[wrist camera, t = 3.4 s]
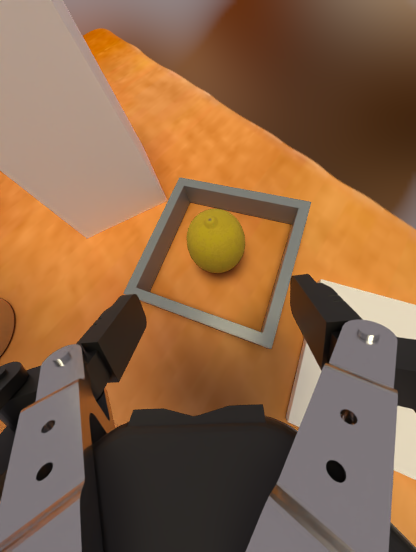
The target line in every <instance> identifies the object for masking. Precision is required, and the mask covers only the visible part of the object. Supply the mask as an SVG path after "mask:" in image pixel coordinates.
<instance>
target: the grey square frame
mask: <svg viewBox="0 0 416 552" xmlns="http://www.w3.org/2000/svg"><path fill="white" fill-rule="evenodd" d="M190 202H191V203H196V204H200V205H205V206H209V207H214V208H219V209H223V210H228V211H232V212H237V213H242V214H246V215H251V216H255V217H260V218H265V219H269V220H274V221H278V222H283V223H288V224H292V226H291V229H290V233H289V236H288V240H287V243H286V246H285V250H284V253H283V257H282V260H281V264H280V267H279V271H278V274H277V277H276V281H275V284H274V288H273V291H272V295H271V298H270V301H269V305H268V308H267V312H266V315H265V319H264V322H263V326H262V329H261V332H259V331H256V330H253V329H250V328H248V327H245V326H242V325H239V324H236V323H234V322H231V321H228V320H225V319H223V318H220V317H217V316H214V315H211V314H209V313H206V312H203V311H200V310H197V309H195V308H192V307H189V306H186V305H183V304H181V303H178V302H175V301H172V300H170V299H167V298H164V297H161V296H158V295H156V294H153V293H150V290H151V288H152V285H153V283H154V281H155V279H156V277H157V274H158V272H159V270H160V268H161V265H162V263H163V261H164V259H165V257H166V254H167V252H168V250H169V248H170V246H171V243H172V241H173V239H174V237H175V234H176V232H177V230H178V228H179V226H180V223H181V221H182V219H183V217H184V214H185V212H186V210H187V208H188V206H189V203H190ZM310 205H311V202H309V201H303V200H298V199H292V198H287V197H282V196H276V195H271V194H266V193H260V192H255V191H250V190H244V189H239V188H233V187H228V186H223V185H217V184H212V183H207V182H201V181H196V180H190V179H185V178H179V180H178V182H177V184H176V186H175V188H174V190H173V192H172V194H171V196H170V198H169V200H168V202H167V204H166V207H165V209H164V211H163V213H162V215H161V217H160V219H159V221H158V223H157V225H156V227H155V229H154V231H153V233H152V235H151V237H150V240H149V242H148V244H147V246H146V248H145V250H144V252H143V254H142V256H141V258H140V260H139V262H138V264H137V266H136V268H135V271H134V273H133V275H132V277H131V279H130V281H129V283H128V285H127V287H126V289H125V291H124V293H123V294H126V295H129V294H136V295H137V296H138V297H139V300H140V301H143V302H145V303H148V304H151V305H153V306H156V307H159V308H161V309H164V310H167V311H169V312H172V313H175V314H177V315H180V316H183V317H185V318H188V319H191V320H193V321H196V322H199V323H201V324H204V325H207V326H209V327H212V328H215V329H217V330H220V331H223V332H225V333H228V334H231V335H233V336H236V337H238V338H241V339H244V340H246V341H249V342H252V343H254V344H257V345H260V346H262V347H265V348H269V349H272V345H273V341H274V337H275V334H276V330H277V326H278V323H279V319H280V315H281V312H282V308H283V304H284V301H285V297H286V293H287V290H288V286H289V282H290V279H291V275H292V271H293V267H294V264H295V260H296V256H297V253H298V249H299V245H300V242H301V238H302V234H303V231H304V227H305V223H306V220H307V216H308V212H309V209H310Z"/></svg>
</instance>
